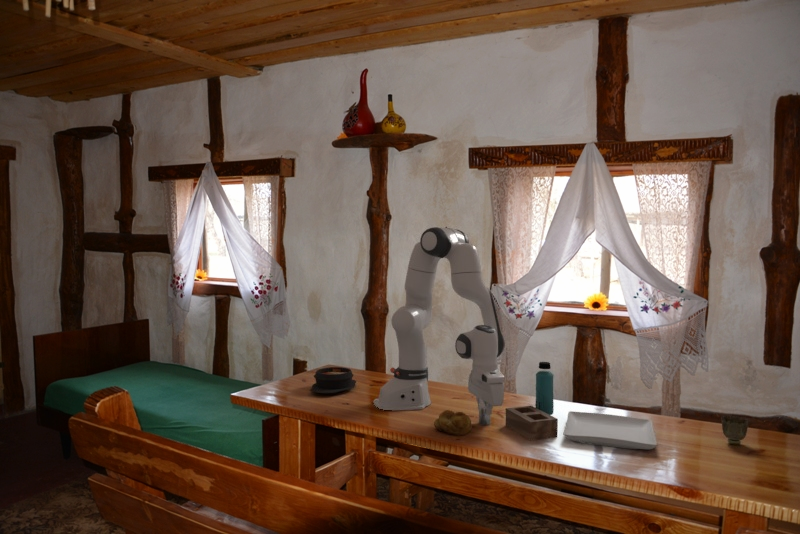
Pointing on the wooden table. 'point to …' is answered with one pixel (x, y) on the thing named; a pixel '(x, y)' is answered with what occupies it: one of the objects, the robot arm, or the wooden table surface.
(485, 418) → the steel pin
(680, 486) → the wooden table surface
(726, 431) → the cup
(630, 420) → the square plate
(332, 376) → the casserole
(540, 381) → the beverage bottle
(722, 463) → the wooden table surface
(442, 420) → the bread roll
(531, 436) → the socket block
